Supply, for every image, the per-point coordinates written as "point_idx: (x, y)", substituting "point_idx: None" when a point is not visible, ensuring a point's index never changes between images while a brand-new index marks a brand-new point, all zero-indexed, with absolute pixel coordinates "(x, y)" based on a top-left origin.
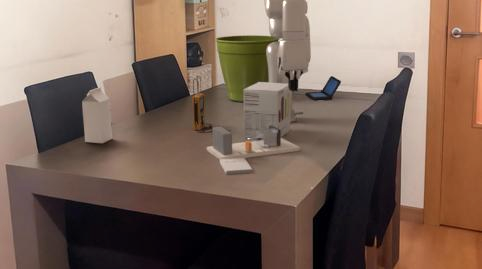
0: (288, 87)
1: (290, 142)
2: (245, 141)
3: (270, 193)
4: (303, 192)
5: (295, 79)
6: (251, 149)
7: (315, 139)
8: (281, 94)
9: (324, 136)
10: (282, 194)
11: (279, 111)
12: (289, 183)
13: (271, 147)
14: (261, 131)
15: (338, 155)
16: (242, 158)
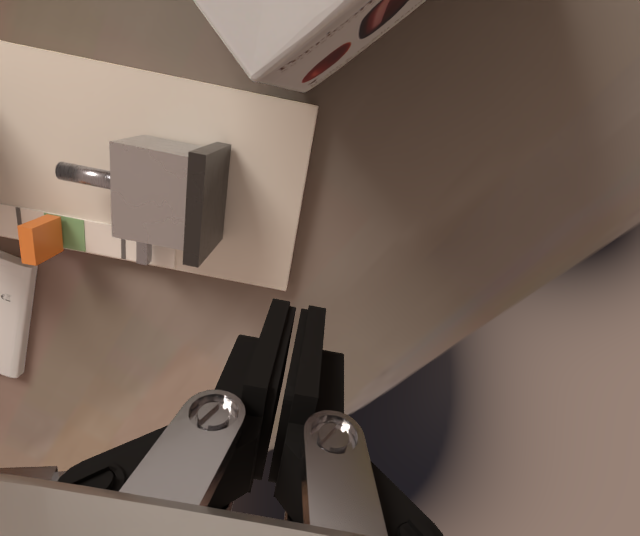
0: (239, 336)
1: (299, 211)
2: (18, 227)
3: None
4: None
5: (276, 479)
6: (56, 254)
7: (470, 188)
8: (370, 5)
9: (548, 170)
10: None
11: (322, 61)
12: None
13: None
14: (125, 181)
15: (362, 399)
16: (17, 271)
